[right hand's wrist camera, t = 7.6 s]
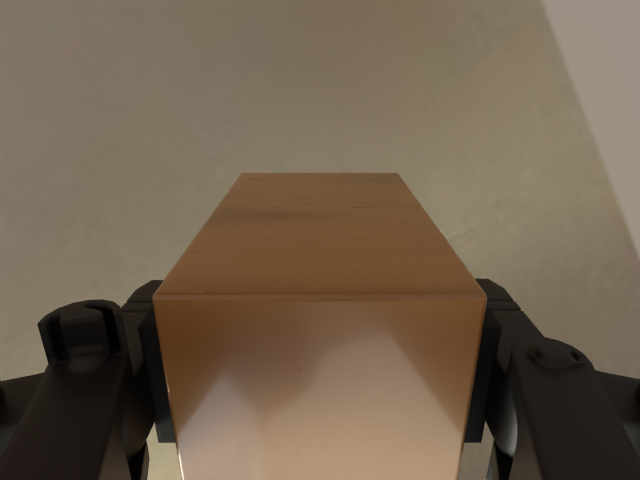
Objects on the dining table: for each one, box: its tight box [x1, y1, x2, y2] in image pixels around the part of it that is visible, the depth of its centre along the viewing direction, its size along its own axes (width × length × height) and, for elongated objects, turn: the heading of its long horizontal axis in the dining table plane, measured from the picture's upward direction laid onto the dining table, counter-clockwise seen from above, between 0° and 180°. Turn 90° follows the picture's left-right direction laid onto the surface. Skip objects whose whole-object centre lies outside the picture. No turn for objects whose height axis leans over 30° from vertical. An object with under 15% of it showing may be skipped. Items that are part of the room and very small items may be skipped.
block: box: [152, 173, 487, 480], centre depth 11 cm, size 5×5×8 cm
